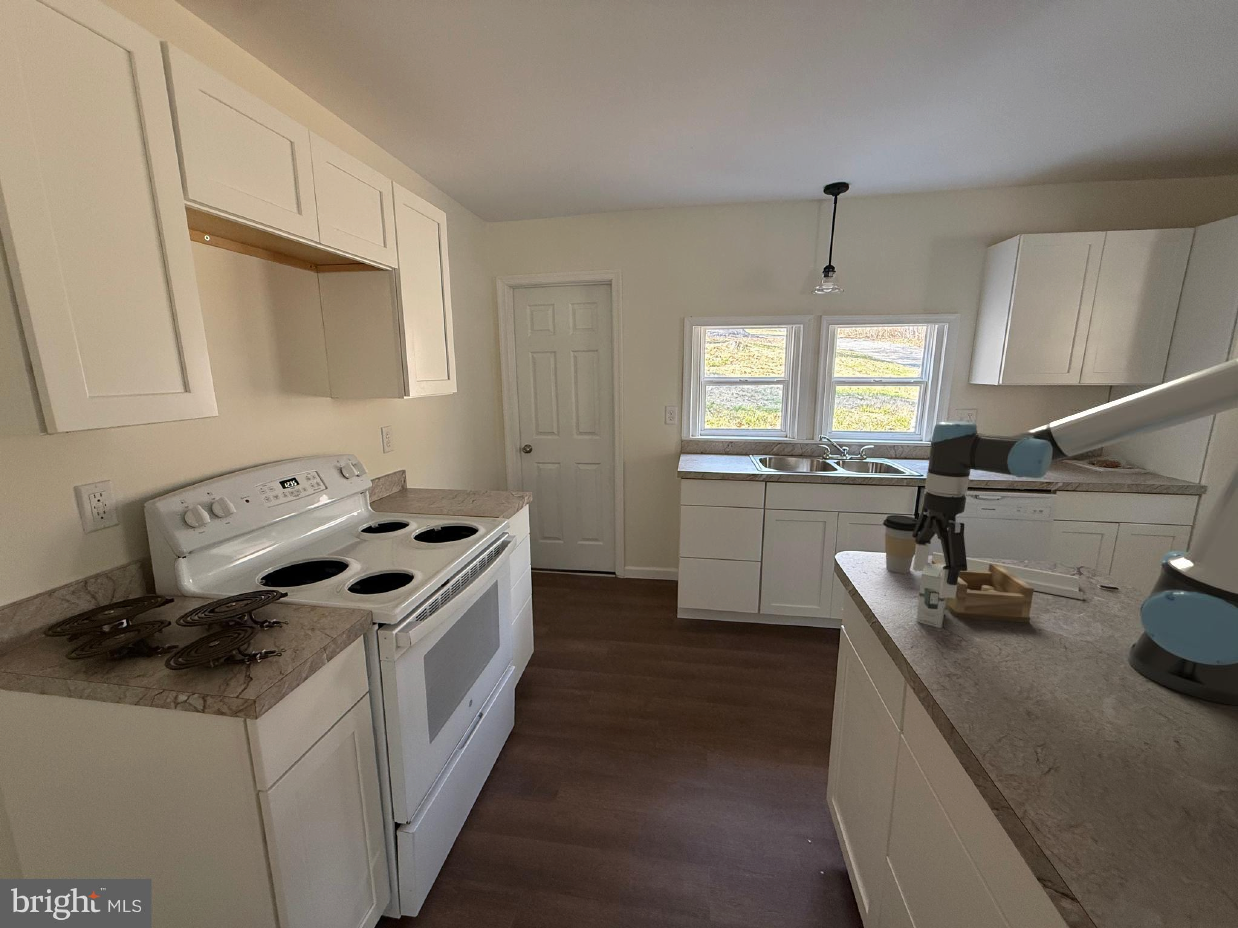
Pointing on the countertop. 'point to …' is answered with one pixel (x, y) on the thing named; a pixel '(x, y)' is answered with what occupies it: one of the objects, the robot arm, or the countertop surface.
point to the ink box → (931, 596)
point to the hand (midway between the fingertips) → (932, 582)
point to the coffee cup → (899, 542)
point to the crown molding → (1030, 577)
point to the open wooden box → (990, 595)
